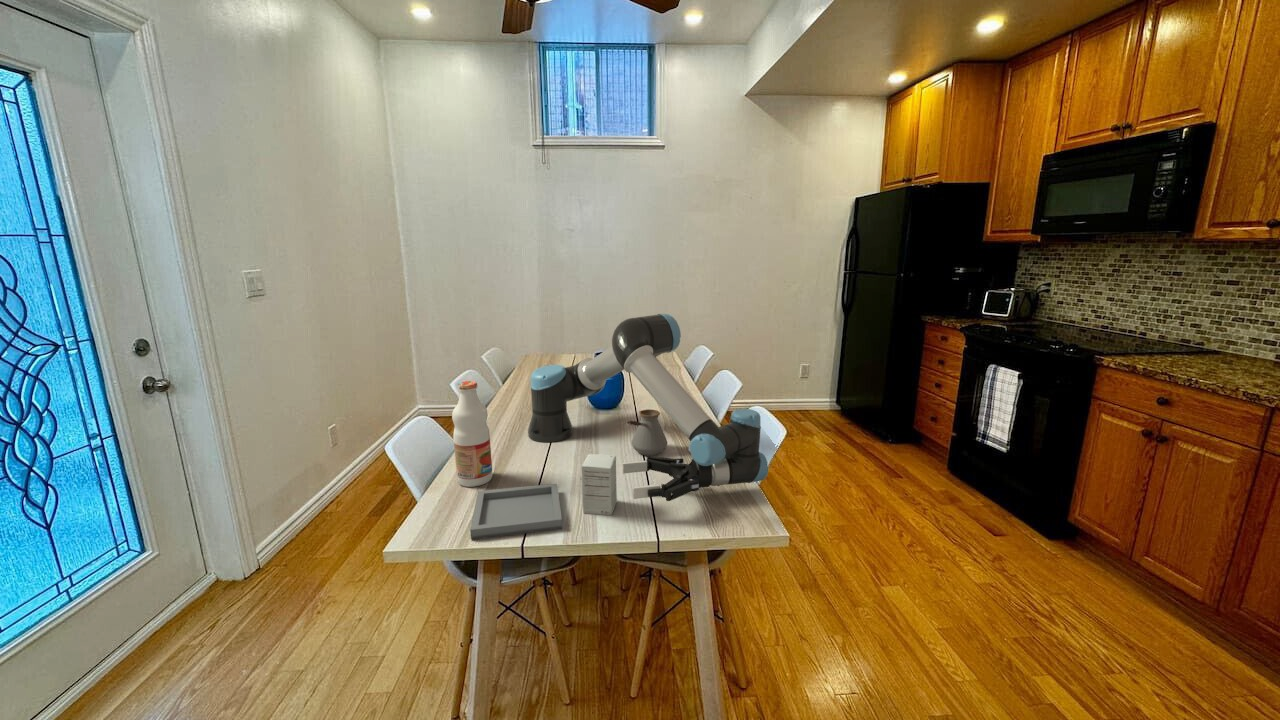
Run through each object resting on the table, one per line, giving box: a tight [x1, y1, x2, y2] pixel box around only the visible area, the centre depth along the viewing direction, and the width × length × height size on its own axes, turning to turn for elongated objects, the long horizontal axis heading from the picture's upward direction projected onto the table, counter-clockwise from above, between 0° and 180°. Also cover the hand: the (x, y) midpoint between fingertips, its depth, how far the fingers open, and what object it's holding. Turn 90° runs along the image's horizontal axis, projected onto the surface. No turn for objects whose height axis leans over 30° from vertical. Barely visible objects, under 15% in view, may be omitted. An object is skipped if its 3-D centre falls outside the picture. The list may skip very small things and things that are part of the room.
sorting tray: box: [469, 483, 563, 541], centre depth 121 cm, size 18×20×2 cm
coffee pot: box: [623, 408, 668, 457], centre depth 152 cm, size 21×12×15 cm, turn 154°
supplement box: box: [581, 453, 618, 516], centre depth 123 cm, size 7×7×13 cm
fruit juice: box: [451, 380, 493, 488], centre depth 135 cm, size 9×9×28 cm
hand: (627, 480), depth 124 cm, fingers open, 13 cm apart
